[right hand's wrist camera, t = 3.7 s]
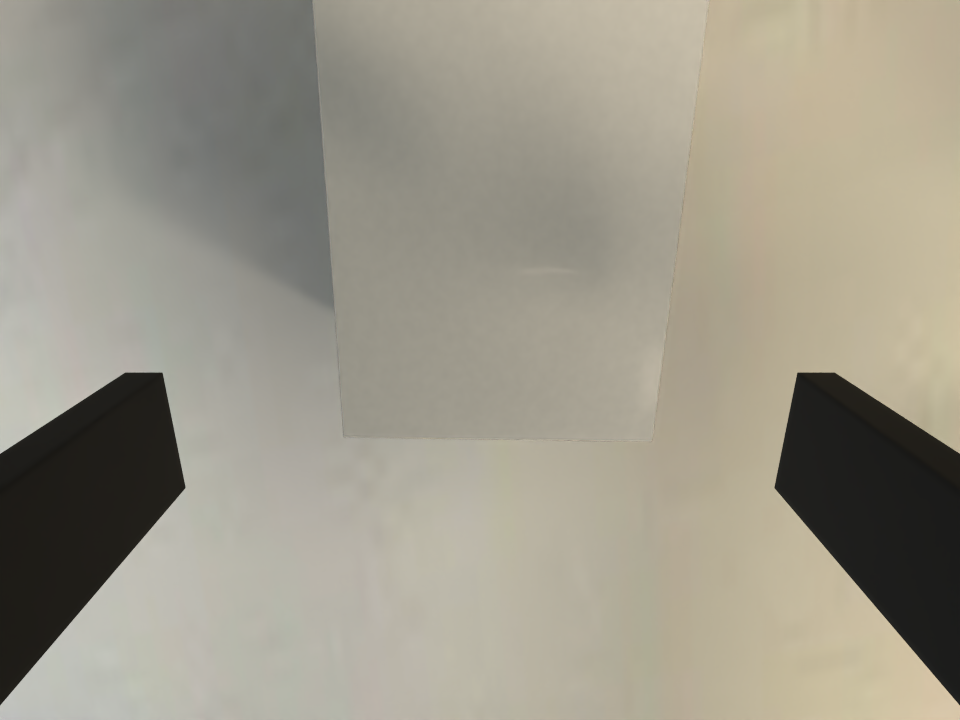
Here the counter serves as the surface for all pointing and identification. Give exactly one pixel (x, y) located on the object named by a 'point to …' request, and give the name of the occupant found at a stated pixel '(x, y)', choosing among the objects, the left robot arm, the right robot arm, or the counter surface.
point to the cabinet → (504, 210)
